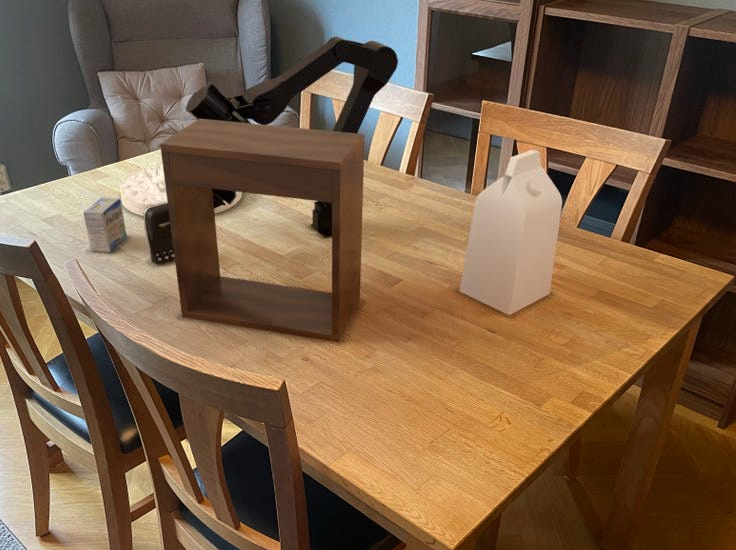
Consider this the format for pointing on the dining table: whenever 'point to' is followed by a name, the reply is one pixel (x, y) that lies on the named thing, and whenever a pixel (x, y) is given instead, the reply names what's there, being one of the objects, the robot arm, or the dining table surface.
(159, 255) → the black rounded piece
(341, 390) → the dining table surface
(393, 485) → the dining table surface
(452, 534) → the dining table surface
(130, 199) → the cake
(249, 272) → the dining table surface
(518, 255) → the milk
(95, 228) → the medicine box
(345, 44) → the robot arm
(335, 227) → the brown wooden cubby shelf
